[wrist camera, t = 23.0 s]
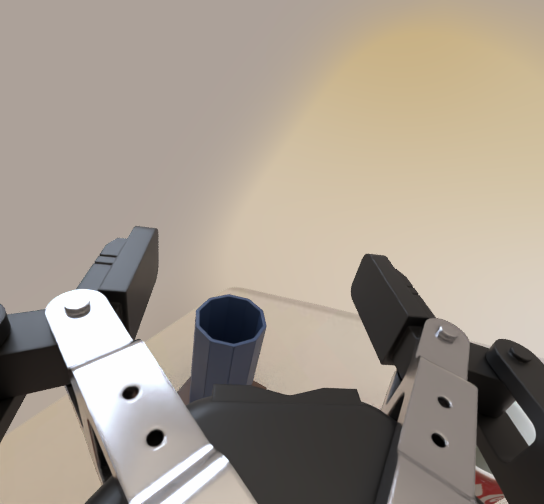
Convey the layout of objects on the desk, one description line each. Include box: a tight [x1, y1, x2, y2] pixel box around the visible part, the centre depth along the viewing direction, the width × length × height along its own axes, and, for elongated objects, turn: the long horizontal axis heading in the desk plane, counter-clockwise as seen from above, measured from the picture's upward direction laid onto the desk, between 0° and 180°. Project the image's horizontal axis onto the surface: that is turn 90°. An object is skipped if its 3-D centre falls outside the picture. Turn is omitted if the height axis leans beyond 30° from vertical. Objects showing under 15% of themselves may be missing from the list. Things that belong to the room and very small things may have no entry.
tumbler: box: [189, 294, 266, 403], centre depth 31 cm, size 6×6×12 cm
